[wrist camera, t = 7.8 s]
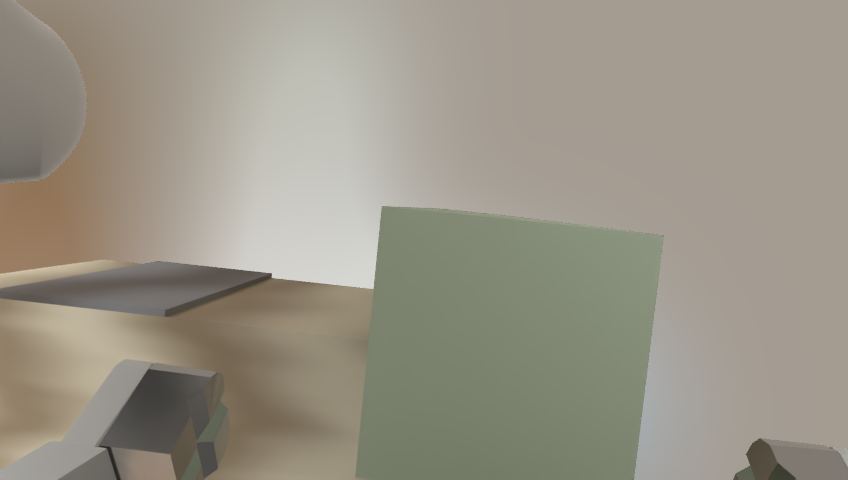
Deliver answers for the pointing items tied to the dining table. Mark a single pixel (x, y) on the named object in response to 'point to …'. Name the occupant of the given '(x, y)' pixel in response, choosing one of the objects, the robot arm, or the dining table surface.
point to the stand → (191, 356)
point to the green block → (506, 348)
